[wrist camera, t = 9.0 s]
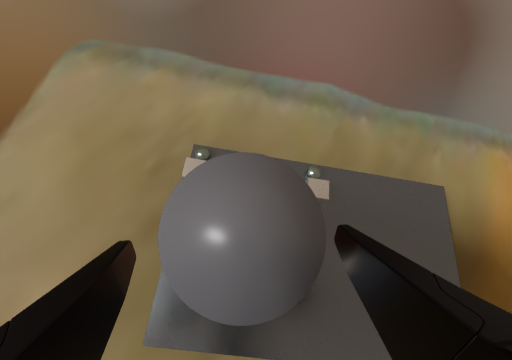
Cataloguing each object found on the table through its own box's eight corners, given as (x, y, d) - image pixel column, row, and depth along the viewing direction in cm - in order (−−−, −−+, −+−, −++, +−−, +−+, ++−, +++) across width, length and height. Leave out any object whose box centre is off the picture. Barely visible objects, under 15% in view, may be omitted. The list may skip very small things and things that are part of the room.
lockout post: (253, 279, 15) (300, 356, 5) (197, 257, 15) (122, 284, 5) (273, 222, 17) (341, 184, 6) (221, 202, 17) (204, 131, 6)
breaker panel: (455, 369, 16) (500, 393, 14) (150, 336, 15) (132, 356, 12) (429, 190, 21) (459, 182, 18) (196, 151, 20) (190, 136, 17)
